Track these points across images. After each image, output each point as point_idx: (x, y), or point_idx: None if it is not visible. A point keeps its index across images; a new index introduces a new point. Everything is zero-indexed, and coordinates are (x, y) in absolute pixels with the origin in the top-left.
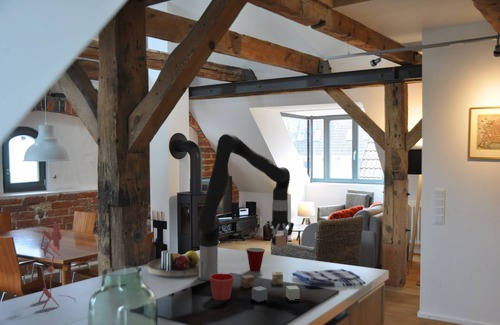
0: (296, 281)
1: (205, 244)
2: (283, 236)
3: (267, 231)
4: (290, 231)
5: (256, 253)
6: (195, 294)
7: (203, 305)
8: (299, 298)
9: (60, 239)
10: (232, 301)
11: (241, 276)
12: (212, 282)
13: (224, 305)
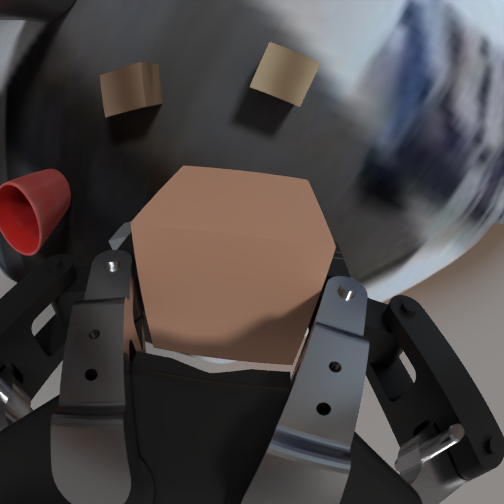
0: (371, 93)
1: None
2: (251, 357)
3: (18, 298)
4: (383, 388)
5: None
6: (10, 151)
7: None
8: None
9: None
10: (77, 227)
11: (101, 79)
12: (9, 227)
13: (63, 246)
